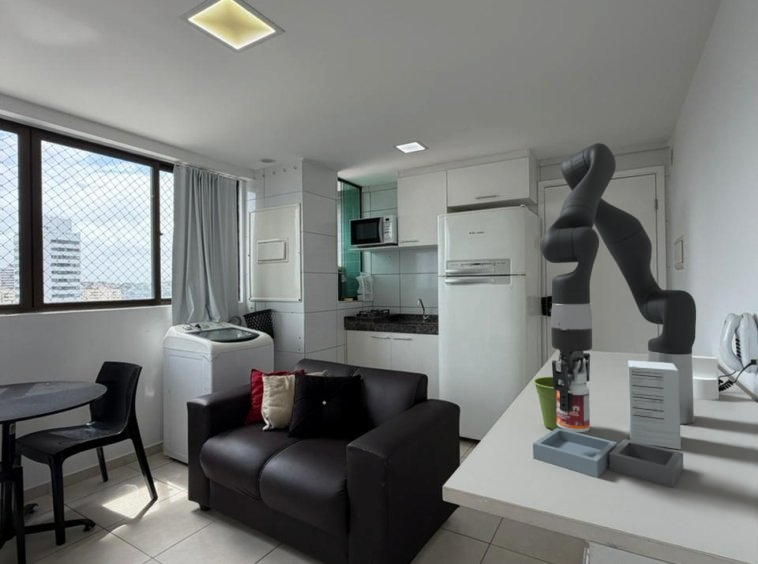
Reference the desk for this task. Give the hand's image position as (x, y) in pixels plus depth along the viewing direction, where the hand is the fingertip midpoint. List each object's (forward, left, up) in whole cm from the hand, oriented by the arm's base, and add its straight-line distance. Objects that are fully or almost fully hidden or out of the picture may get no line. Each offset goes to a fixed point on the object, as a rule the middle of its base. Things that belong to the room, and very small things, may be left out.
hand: (572, 407), depth 81 cm
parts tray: (0, 0, -10) cm, 10 cm away
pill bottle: (0, 0, -4) cm, 4 cm away
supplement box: (-22, +9, -10) cm, 26 cm away
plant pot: (-15, -9, -10) cm, 20 cm away
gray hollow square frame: (-4, +12, -10) cm, 16 cm away
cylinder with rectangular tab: (-71, +11, -10) cm, 73 cm away
